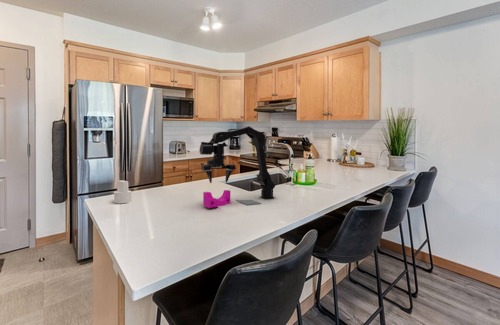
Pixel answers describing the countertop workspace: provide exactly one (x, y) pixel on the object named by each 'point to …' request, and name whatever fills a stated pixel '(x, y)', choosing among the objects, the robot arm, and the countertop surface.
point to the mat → (248, 202)
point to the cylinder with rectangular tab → (122, 192)
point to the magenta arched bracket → (213, 202)
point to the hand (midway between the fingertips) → (218, 182)
